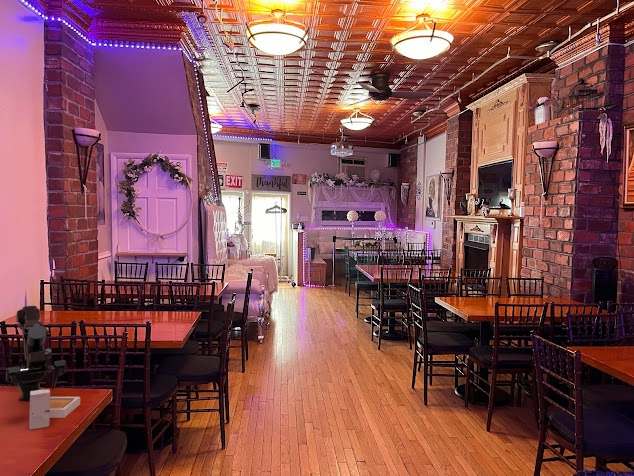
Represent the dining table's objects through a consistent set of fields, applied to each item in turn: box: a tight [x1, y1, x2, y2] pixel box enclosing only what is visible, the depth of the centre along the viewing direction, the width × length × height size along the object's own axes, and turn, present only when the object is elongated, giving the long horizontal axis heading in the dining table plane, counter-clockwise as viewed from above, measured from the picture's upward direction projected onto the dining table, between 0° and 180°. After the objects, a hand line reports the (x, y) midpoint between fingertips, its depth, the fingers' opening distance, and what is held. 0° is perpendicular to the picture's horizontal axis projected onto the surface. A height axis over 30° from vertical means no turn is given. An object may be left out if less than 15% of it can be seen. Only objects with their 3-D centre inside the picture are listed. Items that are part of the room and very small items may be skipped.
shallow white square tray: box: [49, 396, 81, 419], centre depth 176 cm, size 12×12×3 cm
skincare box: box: [28, 388, 51, 430], centre depth 163 cm, size 6×4×12 cm
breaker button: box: [50, 400, 71, 408], centre depth 176 cm, size 8×8×1 cm
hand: (38, 391), depth 166 cm, fingers open, 9 cm apart
